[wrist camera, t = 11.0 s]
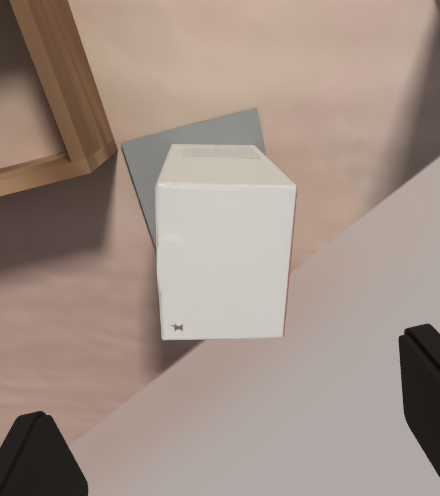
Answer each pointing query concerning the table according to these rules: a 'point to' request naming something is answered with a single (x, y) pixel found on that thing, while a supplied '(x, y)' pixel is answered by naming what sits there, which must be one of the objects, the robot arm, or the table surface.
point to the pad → (204, 133)
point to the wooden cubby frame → (61, 97)
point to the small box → (223, 243)
